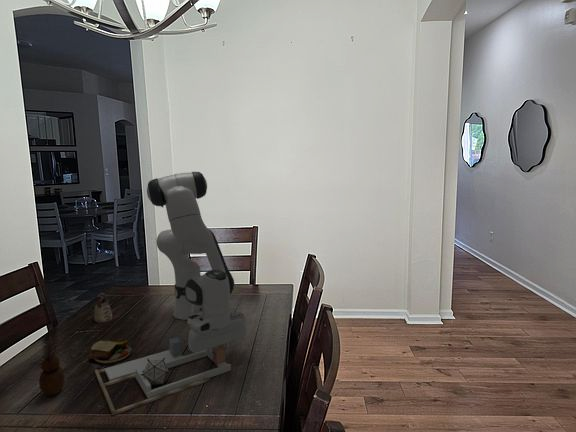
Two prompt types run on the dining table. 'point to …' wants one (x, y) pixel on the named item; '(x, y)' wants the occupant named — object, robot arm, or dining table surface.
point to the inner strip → (145, 361)
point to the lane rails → (140, 401)
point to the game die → (156, 372)
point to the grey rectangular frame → (218, 360)
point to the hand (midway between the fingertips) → (218, 356)
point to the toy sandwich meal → (109, 351)
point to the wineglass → (192, 317)
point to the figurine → (102, 309)
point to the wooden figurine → (51, 375)
